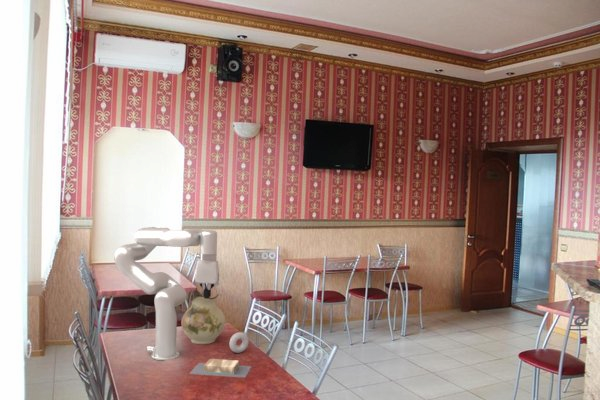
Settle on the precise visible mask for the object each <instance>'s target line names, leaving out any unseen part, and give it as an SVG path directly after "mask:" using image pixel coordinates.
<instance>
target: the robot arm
mask: <svg viewBox="0 0 600 400" xmlns="http://www.w3.org/2000/svg"><path fill="white" fill-rule="evenodd" d="M134 241H135V243H134V242H133V243H127V244H123V245H121V246H119V247H118V248H117V249H116V250H115V252H114V263H115V265H116V268H117V269H118V270H119V272H120V273H122V274H123V275H124V276H125V277H127V278H128V279H129V280H130V281H132V283H133V284H135V285H136V286H137V287H138V289H140V290H141V291H142V292H143V293H145V294H147V295H154V300H153V301H154V302H153V303H154V310H155V338H154V339H155V344H154V345H153V346H152V345H147V347H146V351H147V352H152V353H151V358H152V359H153V360H156V361H166V360H167V361H169V360H173V359H177V358H179V357H180V352H179V351H177V333H178V331H177V328H178V327H177V326H178V315H177V311H176V307H178V306H181V305H182V304H183V303H185V302H186V300H187V296H188V295H187V292H186V289H185V288H184V287H183V286H182V285H181V284H180V283H179V282H178V281H176V280H175V279H174V278H173V277H172V276H170V275H169V273H166V272H164V271H157V272H151V271H150V270H149V269H147V268H146V266H144V265H142V264H141V263H139V262H136V261H142V260H144V259H145V258H146V257H148V255H150V253H152V251H153V250H155V248H157V247H170V248H172V247H173V248H176V247H177V248H185V247H186V248H187V247H193V246H194V247H195V246H199V254H196V258H198V260H197V262H196V267H195V276H194V278H195V279H194V280H195V285H197V286H200V287H201V288H202V291H203V295H202V296H204V299H206V298H207V299H208V298H211V296H212V288H214V287H218V286H219V285H220V267H219V266H220V265H219V262H218V261H219V260H217V258H218V257H217V255H218V254H217V253H218V252H217V251H218V232H217V231H216V230H213V229H200V228H192V229H191V228H190V229H170V228H169V227H154V226H149V227H148V226H147V227H141V228H139V229H137V230H136V232H135V233H134ZM207 284H208V285H207Z"/></svg>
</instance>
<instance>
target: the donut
mask: <svg viewBox="0 0 600 400" xmlns="http://www.w3.org/2000/svg"><path fill="white" fill-rule="evenodd" d="M239 340H241V343H240V345H237V342H238V341H239ZM249 343H250V340H249V337H248V335H247V334H246V333H244V332H241V331H240V332H239V331H238V332H235V333H234V334H232V336H230V339H229V343H228V345H229V346H228V347H229V348H230V350H231V351H232V352H233V353H236V354H240V353H243V352H244V351H246V349H247V348H248V346H249Z"/></svg>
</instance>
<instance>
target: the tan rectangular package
mask: <svg viewBox="0 0 600 400" xmlns="http://www.w3.org/2000/svg"><path fill="white" fill-rule="evenodd" d="M239 362H240V360H238V359H237V360H236V359H235V360H234V359H218V358H217V359H216V358H209V359H208V360H207V362H205V363H206V364H205V365H204V373H218V374H233V375H234V374H235V372H236V371H237V369H238V367H239V365H240V363H239Z"/></svg>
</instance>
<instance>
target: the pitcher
mask: <svg viewBox="0 0 600 400" xmlns="http://www.w3.org/2000/svg"><path fill="white" fill-rule="evenodd" d="M219 296H220V293H218V294H217V295H215V296H213V297H209V298H208V299H207V298H206V299H204V296H203V295H202V293H201V292H200V291H199V290H197V289H194V290H192V292H191V294H190V305H189V306H188V307H187V310H186V311H185V312H184V313H183V315H182V317H181V322H180V323H181V325H180V326H181V328H182V331H183V332H184V335H186V337H188V338H189V339H190V342H191V343H193V344H196V345H208V344H212V343H215V342H216V339H217V338H218V336H220V335H221V333H222V332H223V330H224V329H225V326H226V317H225V315H224V313H223V311H222V310H221V309H220V308H219V307H218V306H217V304H216V301H217V299H218V298H219Z"/></svg>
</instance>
